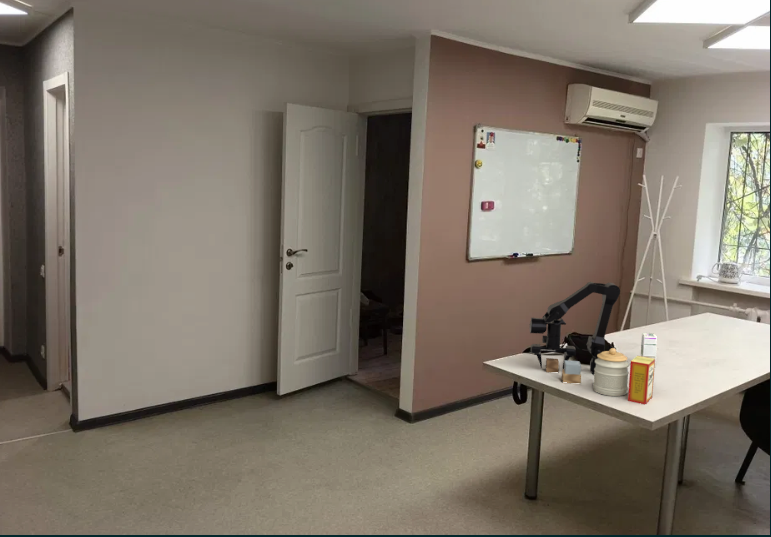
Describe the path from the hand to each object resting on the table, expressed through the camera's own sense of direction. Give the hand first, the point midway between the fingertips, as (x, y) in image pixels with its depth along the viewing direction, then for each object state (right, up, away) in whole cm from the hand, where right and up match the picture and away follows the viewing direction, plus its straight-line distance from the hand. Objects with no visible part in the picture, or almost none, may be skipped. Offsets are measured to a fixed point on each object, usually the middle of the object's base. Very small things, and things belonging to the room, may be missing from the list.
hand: (552, 368), depth 277 cm
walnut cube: (0, -1, 0) cm, 1 cm away
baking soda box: (+25, -7, -34) cm, 42 cm away
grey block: (+5, +1, -13) cm, 14 cm away
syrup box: (+45, 0, +9) cm, 46 cm away
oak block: (+5, -3, -13) cm, 14 cm away
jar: (+17, -5, -25) cm, 30 cm away
